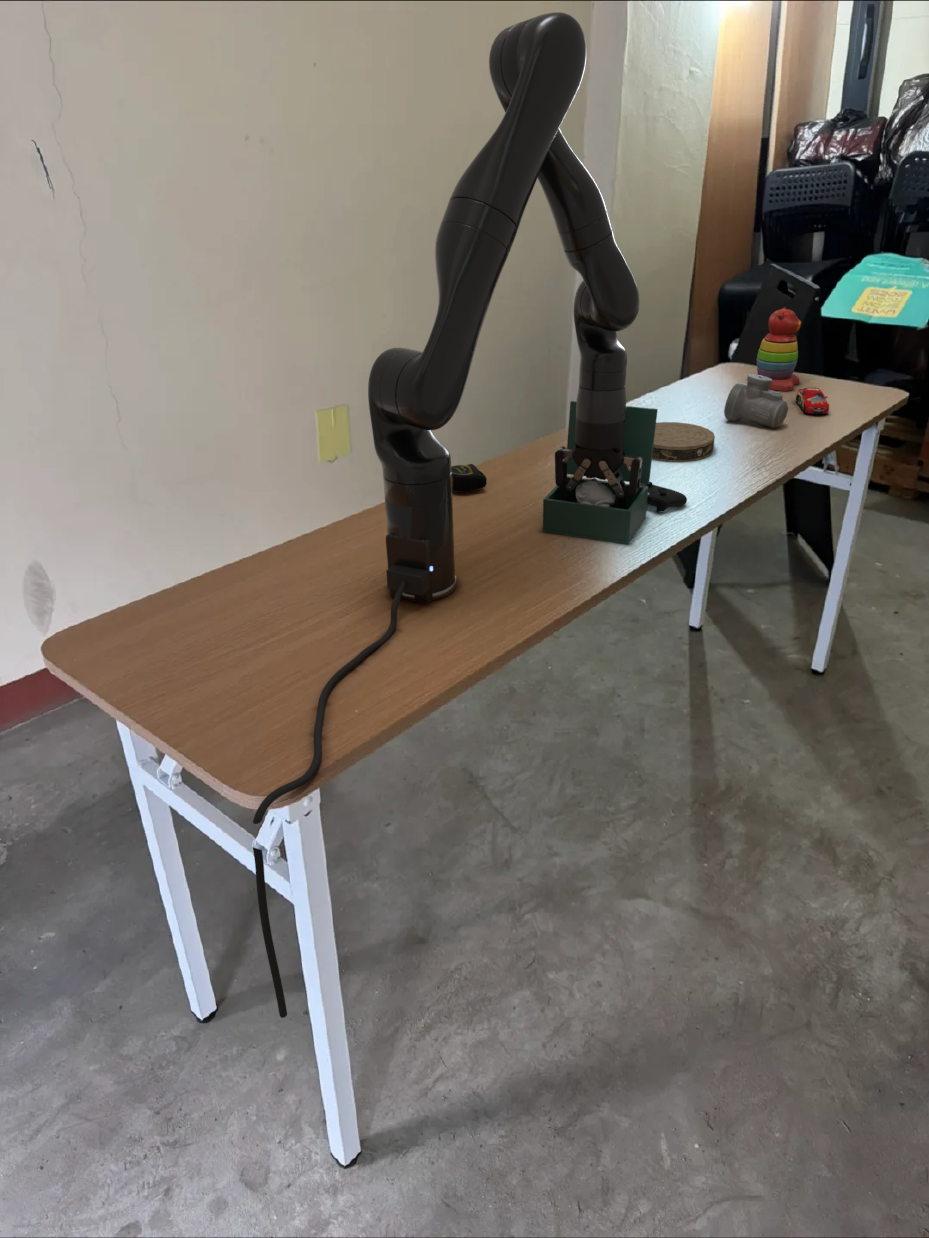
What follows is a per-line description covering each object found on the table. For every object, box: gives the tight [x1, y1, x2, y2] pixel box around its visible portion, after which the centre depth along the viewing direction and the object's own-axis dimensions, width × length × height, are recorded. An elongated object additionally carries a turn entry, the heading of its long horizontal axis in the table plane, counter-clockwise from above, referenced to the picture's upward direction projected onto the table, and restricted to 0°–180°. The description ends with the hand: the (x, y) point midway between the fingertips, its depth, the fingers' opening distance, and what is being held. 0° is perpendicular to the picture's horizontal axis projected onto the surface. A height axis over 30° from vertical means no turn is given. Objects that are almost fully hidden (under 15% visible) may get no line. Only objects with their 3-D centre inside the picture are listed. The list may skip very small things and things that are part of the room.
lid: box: [566, 400, 658, 484], centre depth 141 cm, size 12×14×1 cm
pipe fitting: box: [723, 373, 789, 429], centre depth 184 cm, size 12×8×10 cm
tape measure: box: [451, 463, 488, 493], centre depth 157 cm, size 7×7×4 cm
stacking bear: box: [756, 307, 802, 392], centre depth 209 cm, size 11×10×18 cm
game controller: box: [640, 481, 688, 513], centre depth 148 cm, size 10×5×6 cm
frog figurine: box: [576, 478, 616, 508], centre depth 140 cm, size 6×7×7 cm
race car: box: [795, 387, 830, 415], centre depth 194 cm, size 13×5×4 cm, turn 171°
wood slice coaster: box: [652, 421, 716, 463], centre depth 173 cm, size 16×16×3 cm
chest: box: [542, 475, 648, 545], centre depth 141 cm, size 11×14×6 cm
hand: (595, 514), depth 141 cm, fingers closed on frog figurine, 7 cm apart
